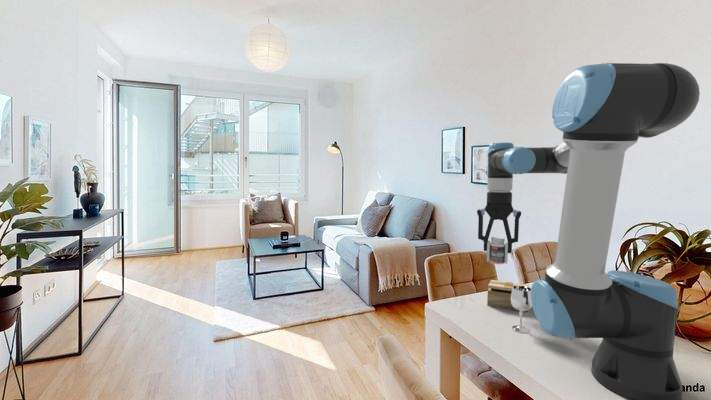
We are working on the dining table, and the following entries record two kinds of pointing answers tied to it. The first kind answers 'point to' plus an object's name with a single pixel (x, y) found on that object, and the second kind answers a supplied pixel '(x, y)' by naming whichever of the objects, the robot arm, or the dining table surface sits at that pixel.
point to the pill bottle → (497, 250)
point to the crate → (500, 298)
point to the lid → (504, 285)
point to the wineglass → (521, 304)
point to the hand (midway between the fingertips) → (497, 261)
